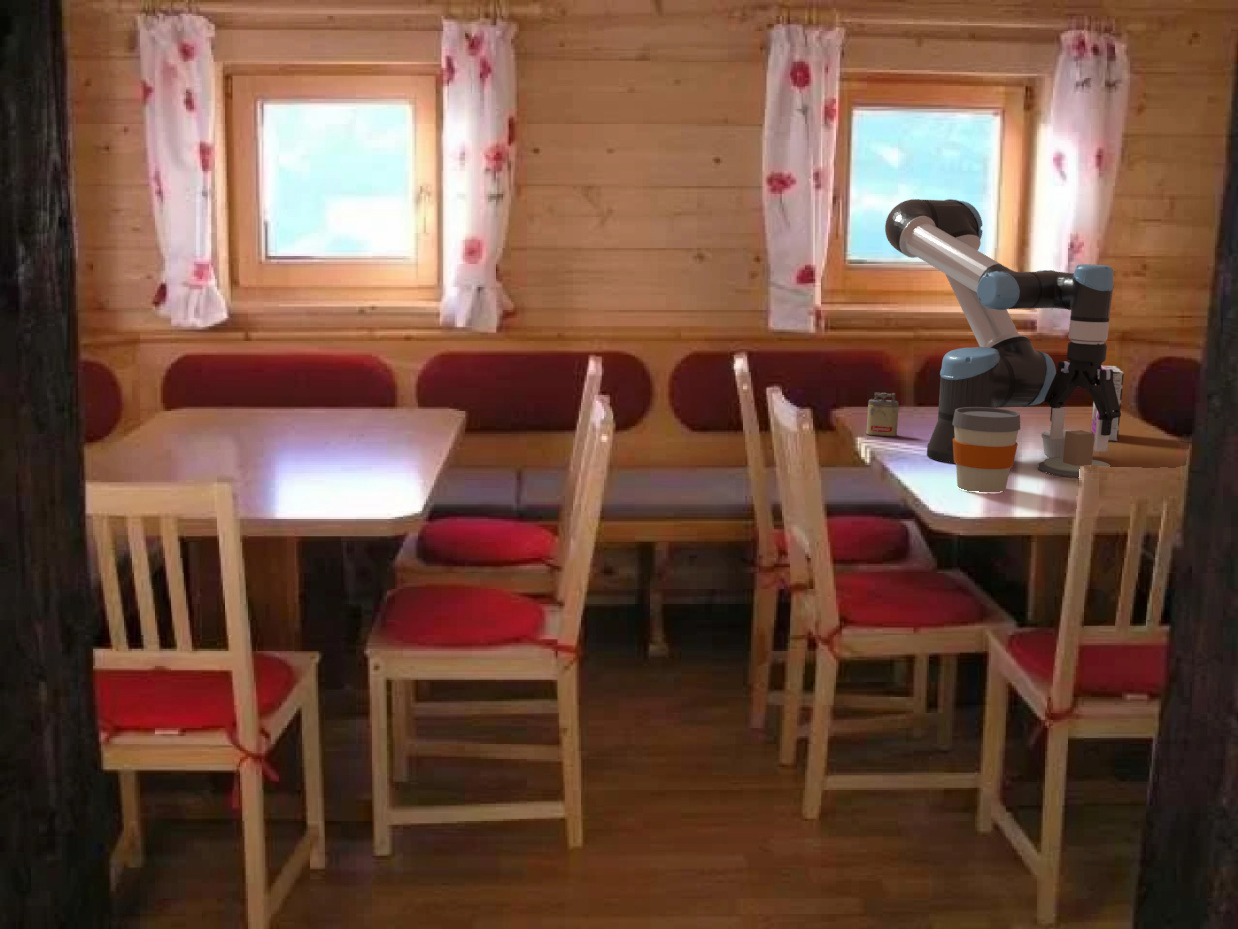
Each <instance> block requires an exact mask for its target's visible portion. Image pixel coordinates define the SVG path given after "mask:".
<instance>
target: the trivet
mask: <svg viewBox="0 0 1238 929" xmlns="http://www.w3.org/2000/svg"><path fill="white" fill-rule="evenodd" d="M1037 464H1038V465H1037V470H1039V471H1040V472H1042V473H1044V472H1047V473H1046V474H1048V473H1050V474H1049V475H1052V474H1053V476H1056V475H1057V477H1063V478H1071V479H1072V478H1073V479H1079V478H1078V477H1079V473H1070V472H1063V471H1058V470H1054V469H1050V468H1048V467H1046V466H1044V461H1040V462H1039V463H1037Z"/></svg>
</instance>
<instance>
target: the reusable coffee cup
mask: <svg viewBox="0 0 1238 929" xmlns="http://www.w3.org/2000/svg"><path fill="white" fill-rule="evenodd" d="M952 425H953V426H954V433H955V438H953V455H954V462H955V463H954V464H955V467H956V468H955V469H956V484H957V485H956V487H957V486H958V487H959V488H961V489H964V490H967V491H979V492H1000V491H1005V492H1006V489H1007V484H1008V480H1009V474H1010V470H1011V468H1012V467H1013V466H1014V463H1015V459H1016V458H1015V457H1016V453H1017V449H1018V442H1017V439H1018V434H1019V431H1020V430H1021V414H1020V412H1018V411H1015V410H1011V409H1004V408H987V407H964V408H958V409H955V413H954V418H953V423H952Z"/></svg>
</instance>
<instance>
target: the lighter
mask: <svg viewBox="0 0 1238 929" xmlns="http://www.w3.org/2000/svg"><path fill="white" fill-rule="evenodd" d="M879 398H881V399H879ZM887 398H890V399H891V400H890V399H887ZM899 407H900V406H899V401H897V400H896V393H895V392H892V393H887V392H874V398H870V399H869V400H868V406H867V417H866V418H867V419H866V432H865V433H866V435H870V436H881V437H882V436H883V437H897V436H898V421H899V409H900V408H899Z"/></svg>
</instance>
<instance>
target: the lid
mask: <svg viewBox="0 0 1238 929" xmlns="http://www.w3.org/2000/svg"><path fill="white" fill-rule="evenodd" d="M1093 445H1094V446H1095V443H1094V433H1092V432H1091V431H1090V432H1089V431H1085V430H1073V431H1066V433H1065V444H1064V456H1063V457H1056V458H1048V457H1047V458H1046V459H1045V460H1044V466H1046V467H1048V468H1050V469H1054V470H1058V471H1063V472H1070V473H1079V469H1080V466H1084V465H1097V466H1111V464H1109V463H1107V462H1104V461H1101V460H1097V459H1093V456H1094V455H1093V453H1094V447H1093Z"/></svg>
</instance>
